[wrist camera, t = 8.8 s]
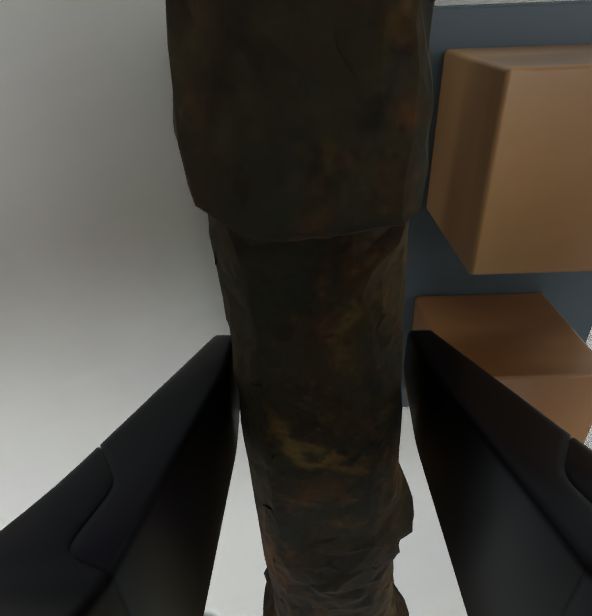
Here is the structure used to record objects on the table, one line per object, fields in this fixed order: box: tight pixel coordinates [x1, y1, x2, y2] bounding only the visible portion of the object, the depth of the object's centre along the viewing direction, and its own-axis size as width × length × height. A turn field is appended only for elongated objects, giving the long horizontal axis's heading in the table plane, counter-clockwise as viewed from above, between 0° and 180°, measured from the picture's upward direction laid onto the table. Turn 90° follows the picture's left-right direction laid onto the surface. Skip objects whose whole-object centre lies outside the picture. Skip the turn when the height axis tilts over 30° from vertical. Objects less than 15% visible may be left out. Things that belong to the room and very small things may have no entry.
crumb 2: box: [405, 293, 592, 444], centre depth 13 cm, size 4×4×4 cm
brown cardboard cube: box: [426, 44, 592, 275], centre depth 9 cm, size 4×4×4 cm
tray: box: [401, 0, 592, 407], centre depth 13 cm, size 10×11×1 cm
